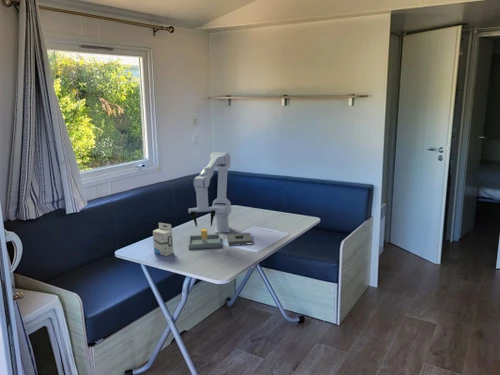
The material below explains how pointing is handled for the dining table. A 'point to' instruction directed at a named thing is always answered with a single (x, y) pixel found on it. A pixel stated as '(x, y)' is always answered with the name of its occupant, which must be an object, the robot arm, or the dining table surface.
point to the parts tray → (196, 243)
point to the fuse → (204, 235)
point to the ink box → (163, 240)
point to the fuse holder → (239, 238)
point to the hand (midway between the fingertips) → (203, 225)
